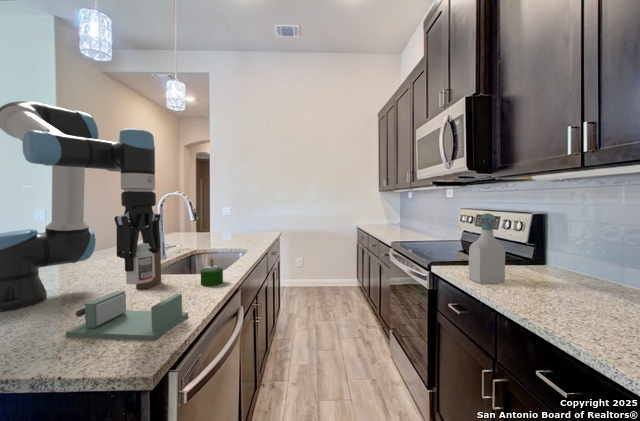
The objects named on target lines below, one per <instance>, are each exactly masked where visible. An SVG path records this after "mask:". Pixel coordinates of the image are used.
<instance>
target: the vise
mask: <svg viewBox="0 0 640 421" xmlns="http://www.w3.org/2000/svg"><path fill="white" fill-rule="evenodd" d="M182 294H183V293H175V294H173V295H171V296H168V297H167V298H164V300H162V301H160V302H158V303H156V304H155V305H153V306H150V309H151V310H128V309H126V312H125V313H123V314H121V315H119V316H117V317H115V318H113V319H111V320H109V321H107V322H105V323H103V324H101V325H99V326H97V327H95V328H86V323H85V322H84V323H82V324H80V325H77V326H75V327H73V328H71V329H69V330H67V331H65V338H81V339H82V338H83V339H87V338H88V339H104V340H105V339H108V340H130V341H131V340H133V341H135V340H136V341H152V342H153V341H157V340H159V339H160V338H161V337H163V335H165V334H166V333H168V332H169V331H170V330H173V328H175V327H176V326H178V325H179V324H180V323H182V322H183V321H184V320H185V319H187V318H188V316H189V312H186V311H185V312H183V302H182V301H183V300H182V299H183V298H182V297H183V295H182Z"/></svg>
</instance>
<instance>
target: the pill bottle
mask: <svg viewBox="0 0 640 421" xmlns="http://www.w3.org/2000/svg"><path fill="white" fill-rule="evenodd" d="M148 249H149V243H143V242H141V243H140V242H138V243H137V249H136V255H135V258H138V274H139V283H138V284H140V283H146V282H149V281H152V280H153V254H152V252H150V251H148Z"/></svg>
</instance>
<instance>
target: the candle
mask: <svg viewBox="0 0 640 421" xmlns="http://www.w3.org/2000/svg"><path fill="white" fill-rule="evenodd" d="M214 261H215V260H214V259H213V258H210V259H209V264H210V265H207V266H206V267H205V268H203V269H200V285H201V286H202V287H207V286H209V287H216V286H220V285H222V284H224V268H222V267H218V265H214Z"/></svg>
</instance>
